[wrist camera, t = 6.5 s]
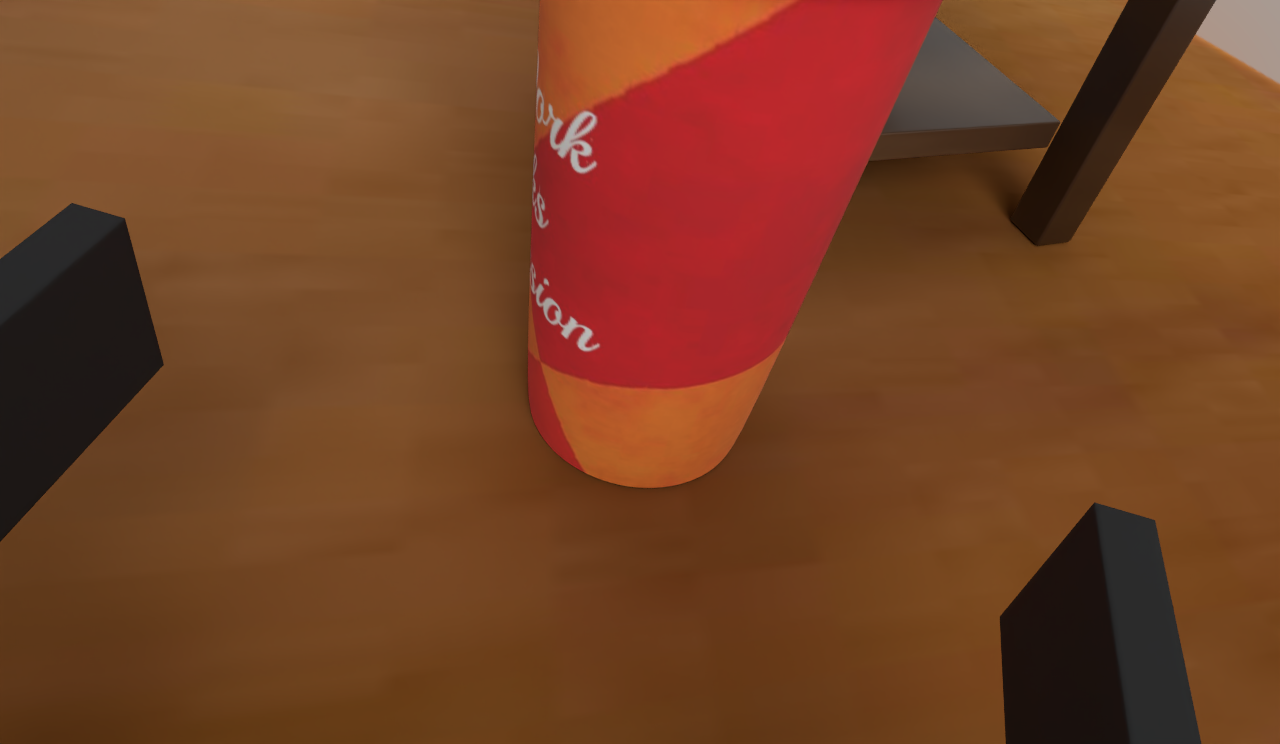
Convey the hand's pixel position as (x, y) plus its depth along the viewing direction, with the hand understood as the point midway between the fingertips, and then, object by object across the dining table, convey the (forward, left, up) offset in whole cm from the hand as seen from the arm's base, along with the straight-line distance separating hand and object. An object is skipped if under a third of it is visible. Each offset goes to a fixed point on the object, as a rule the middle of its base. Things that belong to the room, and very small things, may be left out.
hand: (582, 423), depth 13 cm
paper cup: (-7, +5, -8) cm, 12 cm away
